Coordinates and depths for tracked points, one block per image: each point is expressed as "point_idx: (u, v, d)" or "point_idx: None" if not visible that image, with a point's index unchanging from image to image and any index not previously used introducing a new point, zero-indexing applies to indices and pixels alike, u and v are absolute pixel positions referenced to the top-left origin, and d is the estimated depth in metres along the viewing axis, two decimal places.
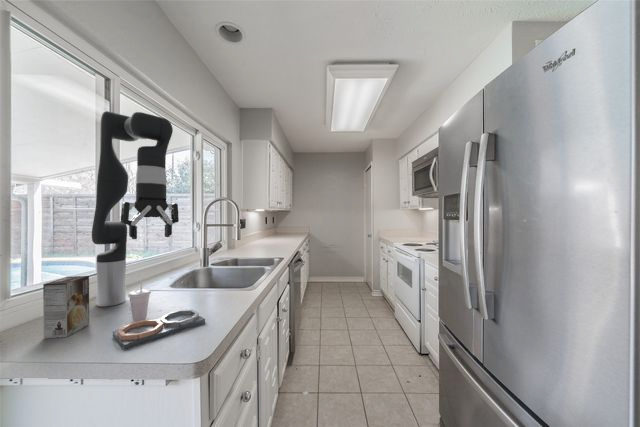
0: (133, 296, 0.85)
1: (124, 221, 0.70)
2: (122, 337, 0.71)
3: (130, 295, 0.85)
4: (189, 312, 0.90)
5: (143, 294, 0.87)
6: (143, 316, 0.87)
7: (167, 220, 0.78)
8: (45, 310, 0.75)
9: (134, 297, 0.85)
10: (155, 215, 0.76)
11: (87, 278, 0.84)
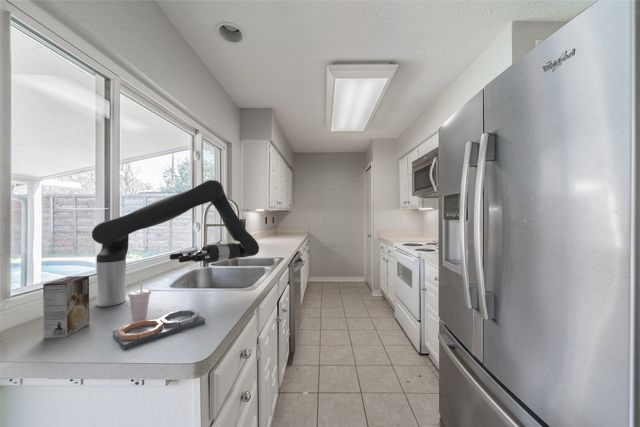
0: (133, 296, 0.85)
1: (196, 261, 0.96)
2: (122, 337, 0.71)
3: (130, 295, 0.85)
4: (189, 312, 0.90)
5: (143, 294, 0.87)
6: (143, 316, 0.87)
7: None
8: (45, 310, 0.75)
9: (134, 297, 0.85)
10: None
11: (87, 278, 0.84)
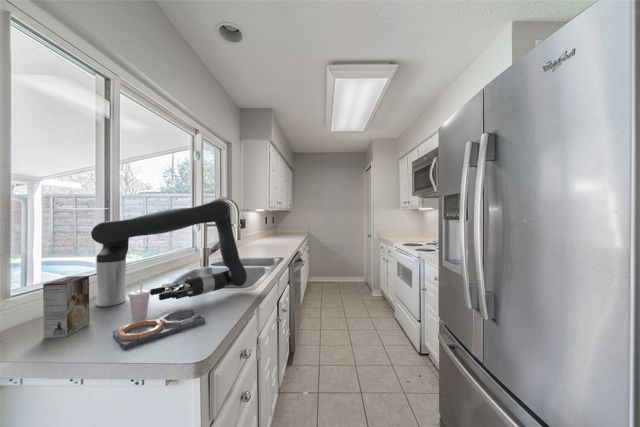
0: (133, 296, 0.85)
1: (177, 298, 0.91)
2: (122, 337, 0.71)
3: (130, 295, 0.85)
4: (189, 312, 0.90)
5: (143, 294, 0.87)
6: (143, 316, 0.87)
7: None
8: (45, 310, 0.75)
9: (134, 297, 0.85)
10: None
11: (87, 278, 0.84)
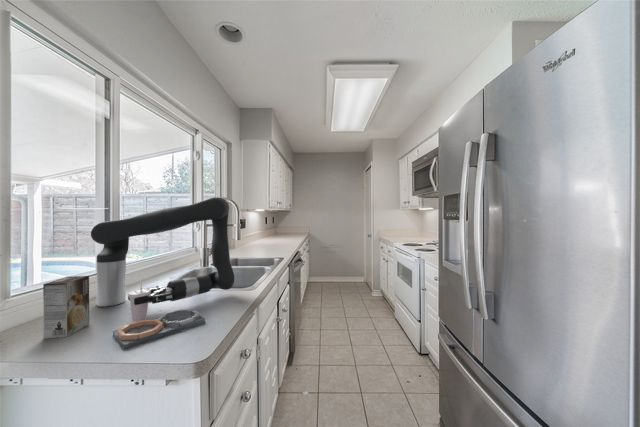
0: (133, 296, 0.85)
1: (154, 303, 0.87)
2: (122, 337, 0.71)
3: (130, 295, 0.85)
4: (189, 312, 0.90)
5: (143, 294, 0.86)
6: (143, 316, 0.87)
7: None
8: (45, 310, 0.75)
9: (134, 297, 0.85)
10: None
11: (87, 278, 0.84)
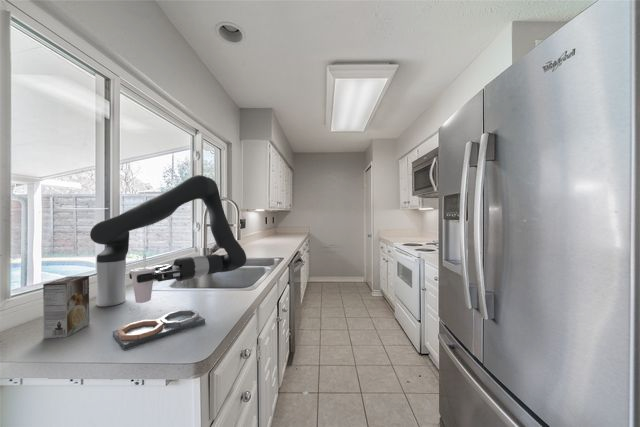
0: (136, 273, 0.74)
1: (160, 281, 0.76)
2: (122, 337, 0.71)
3: (132, 272, 0.74)
4: (189, 312, 0.90)
5: (147, 271, 0.76)
6: (147, 296, 0.77)
7: None
8: (45, 310, 0.75)
9: (137, 274, 0.74)
10: None
11: (87, 278, 0.84)
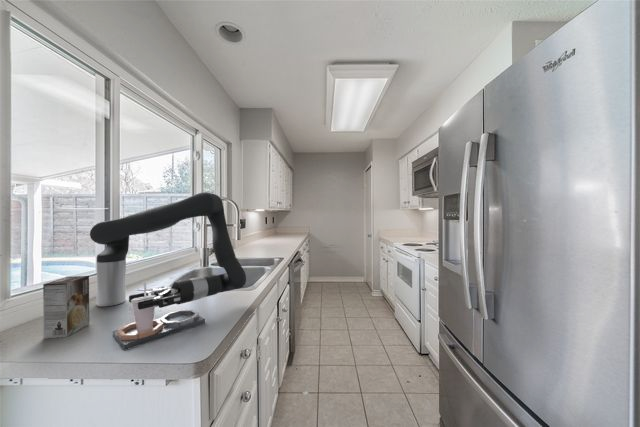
0: (136, 302, 0.74)
1: (161, 307, 0.75)
2: (122, 337, 0.71)
3: (133, 301, 0.74)
4: (189, 312, 0.90)
5: (147, 299, 0.75)
6: (148, 325, 0.75)
7: None
8: (45, 310, 0.75)
9: (137, 302, 0.74)
10: None
11: (87, 278, 0.84)
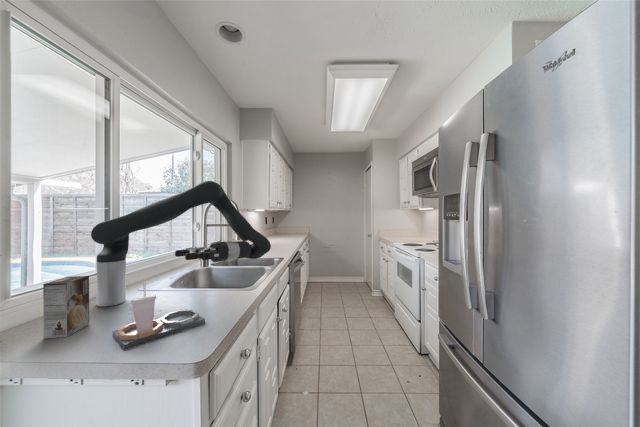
0: (136, 302, 0.74)
1: (204, 259, 0.87)
2: (122, 337, 0.71)
3: (132, 301, 0.74)
4: (189, 312, 0.90)
5: (147, 299, 0.75)
6: (148, 325, 0.75)
7: None
8: (45, 310, 0.75)
9: (137, 302, 0.74)
10: None
11: (87, 278, 0.84)
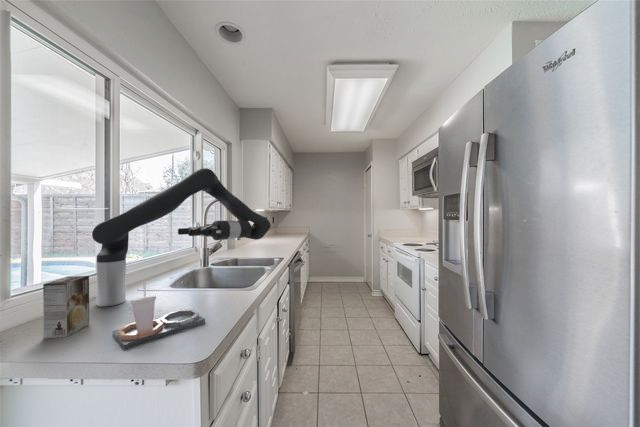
0: (136, 302, 0.74)
1: (207, 235, 0.89)
2: (122, 337, 0.71)
3: (132, 301, 0.74)
4: (189, 312, 0.90)
5: (147, 299, 0.75)
6: (148, 325, 0.75)
7: None
8: (45, 310, 0.75)
9: (137, 302, 0.74)
10: (201, 234, 0.95)
11: (87, 278, 0.84)
